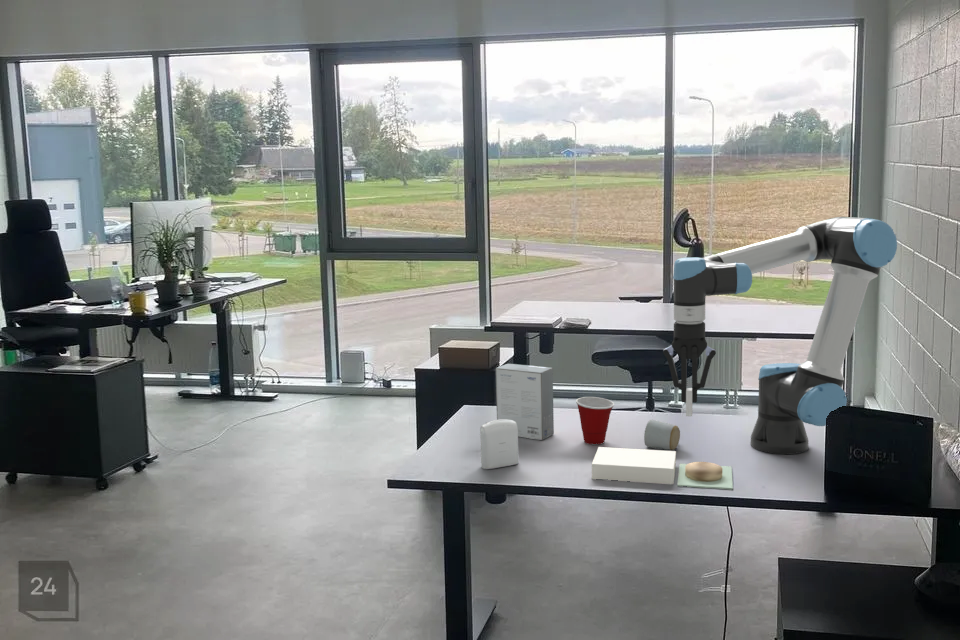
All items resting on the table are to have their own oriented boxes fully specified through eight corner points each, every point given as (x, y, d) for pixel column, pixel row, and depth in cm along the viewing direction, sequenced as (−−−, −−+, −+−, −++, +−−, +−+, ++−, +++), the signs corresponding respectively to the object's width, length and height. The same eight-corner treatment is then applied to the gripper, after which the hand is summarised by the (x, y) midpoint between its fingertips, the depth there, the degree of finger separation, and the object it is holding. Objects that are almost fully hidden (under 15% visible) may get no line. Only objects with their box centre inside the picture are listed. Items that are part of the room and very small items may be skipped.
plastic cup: (610, 449, 252) (610, 406, 250) (572, 446, 256) (571, 404, 254) (617, 437, 262) (617, 397, 260) (580, 434, 266) (580, 394, 264)
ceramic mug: (671, 454, 247) (672, 426, 246) (643, 450, 251) (643, 422, 250) (684, 444, 256) (685, 417, 255) (657, 440, 260) (657, 414, 259)
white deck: (675, 466, 237) (675, 451, 237) (673, 484, 224) (673, 468, 223) (598, 461, 242) (598, 446, 242) (591, 479, 229) (591, 463, 228)
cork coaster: (722, 470, 232) (722, 463, 231) (722, 483, 223) (722, 475, 223) (685, 468, 234) (686, 460, 234) (684, 480, 225) (684, 472, 225)
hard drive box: (554, 434, 267) (554, 367, 264) (542, 441, 261) (541, 373, 257) (509, 427, 275) (508, 362, 272) (495, 433, 269) (494, 367, 266)
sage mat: (731, 468, 235) (731, 466, 235) (732, 489, 220) (732, 488, 219) (679, 464, 238) (679, 463, 238) (677, 486, 223) (677, 484, 223)
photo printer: (484, 470, 237) (483, 424, 235) (478, 466, 241) (477, 420, 239) (521, 465, 241) (520, 419, 239) (514, 460, 245) (513, 415, 242)
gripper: (661, 323, 221) (661, 418, 225) (717, 324, 218) (716, 419, 222) (663, 318, 228) (663, 409, 232) (716, 318, 225) (716, 411, 229)
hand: (689, 414), depth 227 cm, fingers closed
